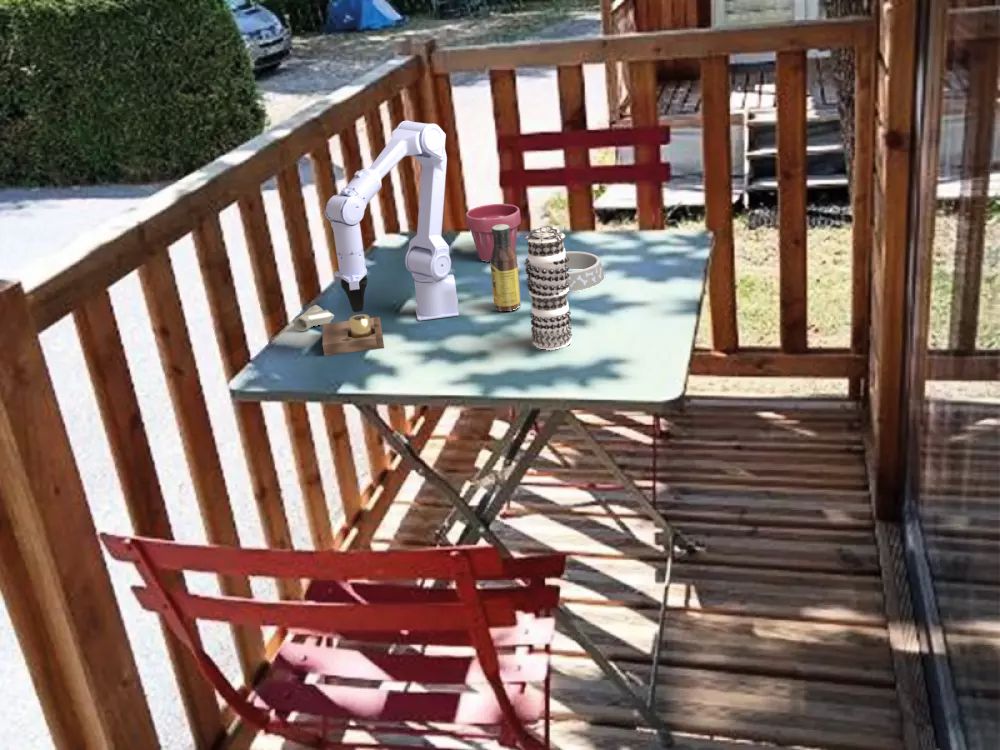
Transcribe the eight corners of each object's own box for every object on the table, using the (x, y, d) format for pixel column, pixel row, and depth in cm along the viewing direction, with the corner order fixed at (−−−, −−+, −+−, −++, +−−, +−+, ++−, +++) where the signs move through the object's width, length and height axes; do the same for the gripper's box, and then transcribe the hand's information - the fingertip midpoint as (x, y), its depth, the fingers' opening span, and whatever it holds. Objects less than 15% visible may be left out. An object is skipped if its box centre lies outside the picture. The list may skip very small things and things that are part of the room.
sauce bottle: (497, 303, 266) (490, 222, 258) (523, 303, 265) (517, 221, 257) (491, 313, 260) (484, 230, 252) (518, 313, 259) (511, 230, 251)
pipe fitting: (336, 322, 265) (311, 319, 267) (335, 306, 264) (309, 303, 266) (321, 335, 258) (294, 331, 261) (319, 319, 257) (293, 315, 259)
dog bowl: (585, 297, 266) (584, 276, 264) (518, 289, 275) (516, 268, 273) (617, 275, 279) (616, 254, 277) (552, 267, 288) (551, 247, 286)
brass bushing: (372, 338, 252) (368, 313, 250) (373, 345, 248) (369, 319, 246) (352, 340, 252) (348, 315, 250) (353, 348, 248) (349, 322, 246)
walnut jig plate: (381, 327, 258) (379, 316, 257) (384, 347, 246) (382, 337, 245) (324, 334, 257) (322, 324, 256) (324, 355, 245) (322, 345, 244)
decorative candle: (568, 332, 246) (561, 220, 236) (578, 347, 238) (571, 232, 228) (527, 338, 245) (518, 226, 235) (535, 353, 237) (527, 238, 227)
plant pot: (458, 260, 299) (454, 213, 294) (497, 246, 308) (493, 200, 303) (495, 270, 289) (491, 221, 284) (534, 255, 298) (531, 208, 293)
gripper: (330, 243, 248) (339, 302, 253) (331, 263, 235) (340, 324, 240) (363, 239, 249) (370, 298, 254) (365, 259, 235) (373, 320, 241)
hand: (358, 310), depth 247 cm, fingers closed
